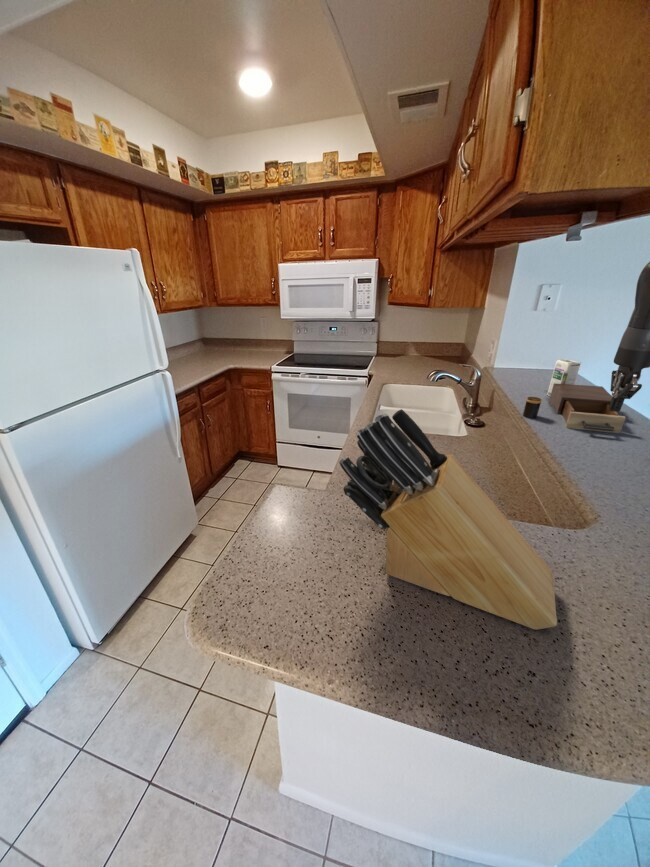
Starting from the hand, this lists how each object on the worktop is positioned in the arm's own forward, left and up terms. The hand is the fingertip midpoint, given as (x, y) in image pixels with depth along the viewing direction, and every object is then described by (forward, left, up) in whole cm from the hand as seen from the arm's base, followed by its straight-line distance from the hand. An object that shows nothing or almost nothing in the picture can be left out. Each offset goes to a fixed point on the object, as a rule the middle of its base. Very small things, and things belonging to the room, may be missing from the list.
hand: (613, 410), depth 89 cm
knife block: (+39, +59, -13) cm, 71 cm away
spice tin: (+16, -16, -12) cm, 26 cm away
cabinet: (0, -28, -12) cm, 31 cm away
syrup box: (+3, -43, -13) cm, 45 cm away
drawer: (0, -14, -11) cm, 18 cm away
